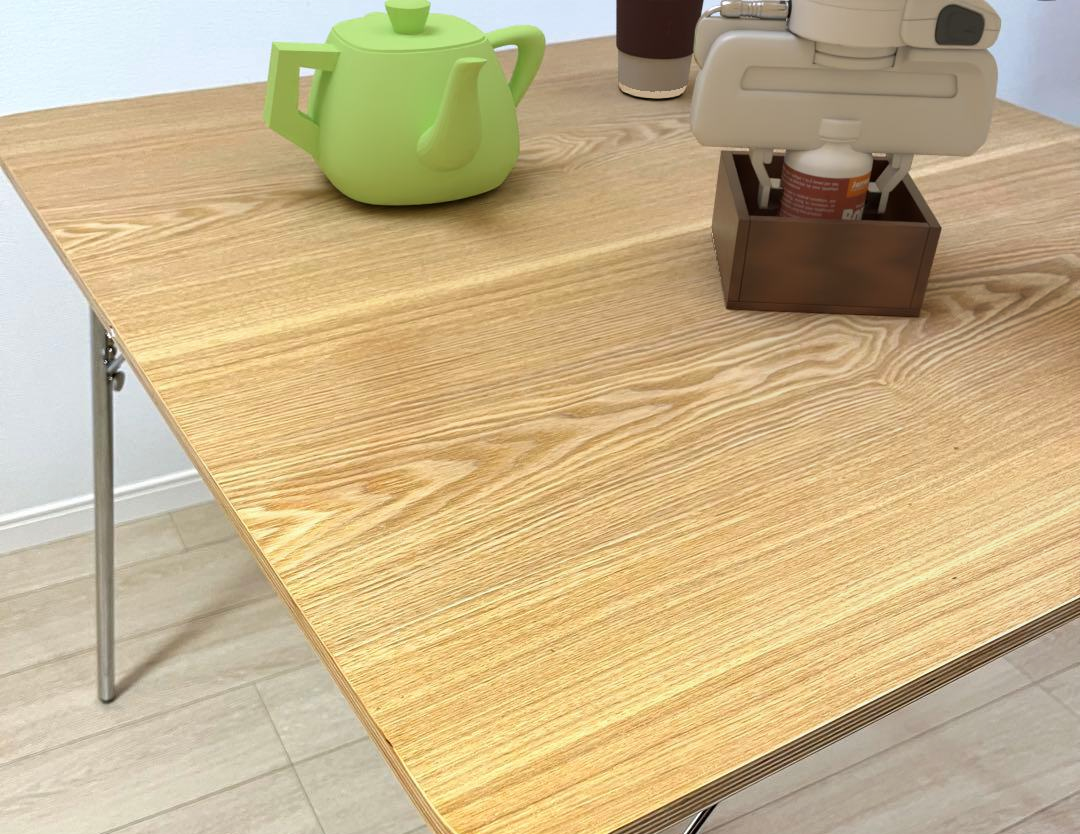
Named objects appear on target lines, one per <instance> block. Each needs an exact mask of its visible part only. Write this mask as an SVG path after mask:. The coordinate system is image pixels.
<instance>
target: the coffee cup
mask: <svg viewBox="0 0 1080 834" xmlns="http://www.w3.org/2000/svg"><path fill="white" fill-rule="evenodd" d="M704 1H705V0H615V14H616V15H615V25H616V26H615V36H616V37H615V44H616V45H615V46H616V49H617V52H618V53H617V82H618V81H619V82H620V83H621V84H622V85H625V86H627V87H629V88H632V89H636V90H640V91H650V92H655V91H660V92H661V91H671V90H676V89H680V88H683V87H684V86H686V85H687V86H688V84H687V83H689V77H690V71H691V66H692V61H693V60H692V59H693V55H694V54H693V47H694V37H695V28H696V25H697V22H698V20H699V18H700V17H701V16H702V14H703V13H702V12H703V7H704Z"/></svg>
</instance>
